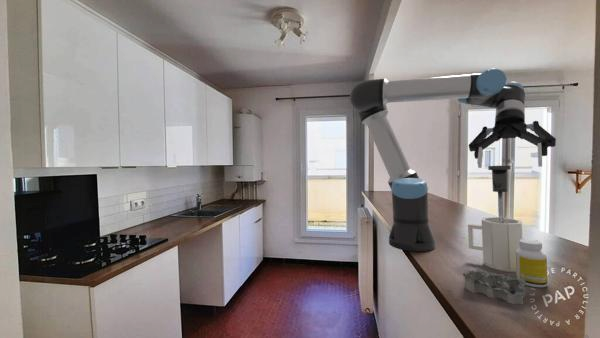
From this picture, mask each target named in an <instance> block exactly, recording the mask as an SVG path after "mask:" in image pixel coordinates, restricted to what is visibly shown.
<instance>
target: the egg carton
mask: <svg viewBox="0 0 600 338" xmlns="http://www.w3.org/2000/svg"><path fill="white" fill-rule="evenodd" d="M462 276H463V278H464V279H463V280H464V289H466V290H468V291H469V292H470V293H474V294H476V293H479V294H480V293H481V294H484V295H486V296H487V297H488V298H490V299H491V298H492V299H496V297H497V299H502V298H503V299H502V300H504V301H506V302H507V303H509V304H512V305H515V304H521V305H523V303H524V300H523V298H525V297H526V291H525V290H526V285H525V278H520V279H519V278H516V277H512V276H510V275H508V276H505V275H504V274H502V273H500V274H499V273H495V272H489V271H486V270H484V269H482V268H475V269H470V270H469V271H468V272H464V273H463V274H462ZM494 286H495V287H494ZM493 287H494V288H493ZM512 291H514V294H513V293H511V292H512ZM498 297H499V298H498Z"/></svg>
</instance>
